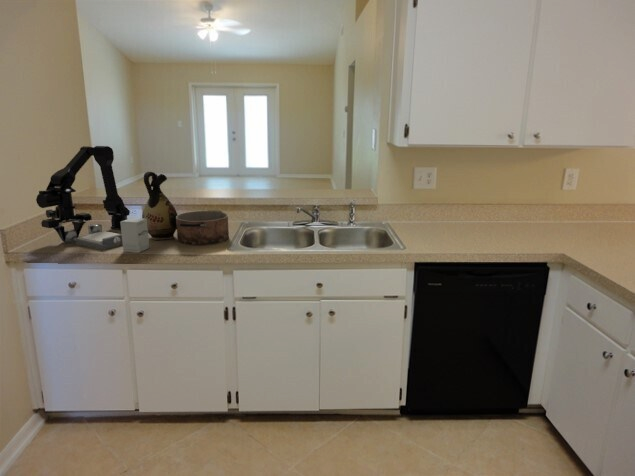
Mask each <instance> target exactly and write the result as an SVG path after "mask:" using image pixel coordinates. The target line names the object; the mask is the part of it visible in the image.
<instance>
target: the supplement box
mask: <svg viewBox="0 0 635 476" xmlns="http://www.w3.org/2000/svg"><path fill="white" fill-rule="evenodd" d="M120 224H121V229H120V231H121V233H120V234H122V243H123V245H122V251H123V252H125V253H135V254H137V253H138V254H140V253H141V252H143V251H145V250H148V249H150V242H149V241H150V240H149V233H148V228H147V219H143V218H142V217H139V218H138V217H130V218H127V220H124V221H121V222H120Z"/></svg>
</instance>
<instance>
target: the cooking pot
mask: <svg viewBox="0 0 635 476" xmlns="http://www.w3.org/2000/svg"><path fill="white" fill-rule="evenodd" d="M176 225H177V229H176V237H177V241H178V242H179V243H180V244H183V245H187V246H188V245H189V246H211V245H217V244H221V243H223V242H226V241H227V240H228V239H229V237H230V236H229V215H228V213H226V212H223V211H222V210H212V209H211V210H199V211H197V210H196V211H194V210H193V211H188V212H183V213H179V214H177V216H176Z"/></svg>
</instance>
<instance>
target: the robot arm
mask: <svg viewBox="0 0 635 476" xmlns="http://www.w3.org/2000/svg"><path fill="white" fill-rule="evenodd" d="M92 156H93V158H94V161H95V162H96V163H97V164H98V165H99V168H100V171H101V173H100V174H101V177H102V181H103V186H104V190H105V194H106V195H105V199H103V200H102V204H103V209H104V210H105V211H106V212H107V215H108V216H111V219H110V220H111V226H110V228H111V229H115V230H121V224H120V222H121V221H124V220H127V219H128V216H130V214H131V211H130V209H128V207H126V205H125V203H124V201H123V199H122V197H121V196H120V194H119V192H118V188H117V185H116V184H117V183H116V179H115V174H114V169H113V165H112V164H113V162H114V160H115V159H114V158H115V157H114V156H115V155H114V151H113V148H112V147H111V146H107V145H95V146H94V147H93V146H87V145H86V146H81V147H80V148H79V150H78V152H77V153H76V154H75V155H74V156H73V157H72V159H70V161H69V162H68V163H67V164H66V165H65V166H64V167H63V168H61V169H60V170H57V171H55V172H54V173H53V174H52V175H51V176H50V180H49V183H48V185H47V186H46V189H45V190H39V191H38V194H37V196H36V199H35V201H36V203H37V206H38V207H39V208H41V209H45V208H49V209H46V210H45V215H46V217H47V218H46V219H42V220H41V222H40V223H41V224H40V225H41V227H43V228H46V229H54V230H55V232H56V233H57V235H58V236H59V238H60V240H61V241H62V242H63V241H65V231H64V230H65V226H64V225H62V224H65V223H70V222H71V223H72V225H73V229H75V230H76V232H77V239H78V237H80V233H81V231H82V229H83V228H84V227H83V226H84V225H85V224H86V223H87V222H88V221H92V220H93V217H92V214H90V213H88V212H80V213H79V212H78V213H75V210H74V209H76V206H75V205H74V204H73V197H72V196H73V195H72V193H75V192H76V191H77V190H76V189H74V188H73V187H72V186H73V184H74V183H75V180H76V175H77V174H78V173H79V171H80V170H81V169H82V168H83V167H84V166H85V164H86V163H87V162H88V161H89V159H91V157H92ZM51 207H55V210H53V209H52V208H51ZM50 208H51V209H50Z"/></svg>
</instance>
